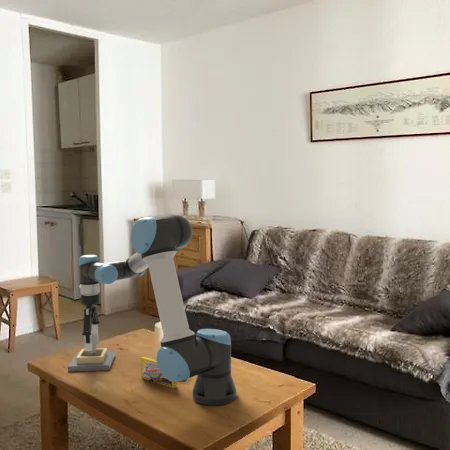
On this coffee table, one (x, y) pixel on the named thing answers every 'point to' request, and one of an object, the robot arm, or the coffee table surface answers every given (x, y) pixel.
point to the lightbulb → (93, 343)
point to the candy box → (154, 372)
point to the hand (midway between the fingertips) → (91, 345)
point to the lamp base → (92, 360)
